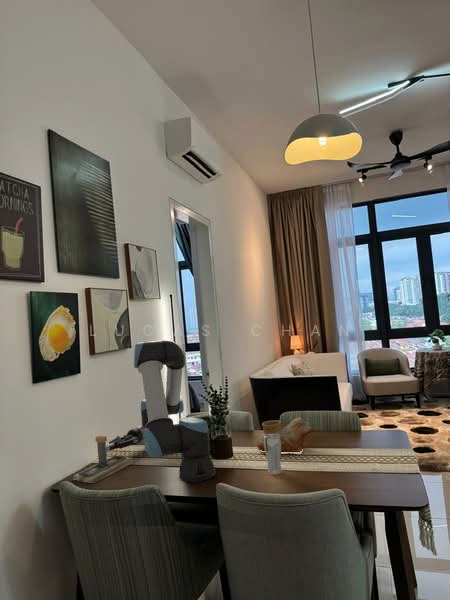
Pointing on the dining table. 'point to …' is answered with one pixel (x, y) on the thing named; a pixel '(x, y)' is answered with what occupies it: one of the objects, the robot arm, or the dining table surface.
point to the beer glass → (273, 452)
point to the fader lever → (102, 451)
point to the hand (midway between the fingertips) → (103, 450)
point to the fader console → (102, 470)
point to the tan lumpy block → (286, 434)
